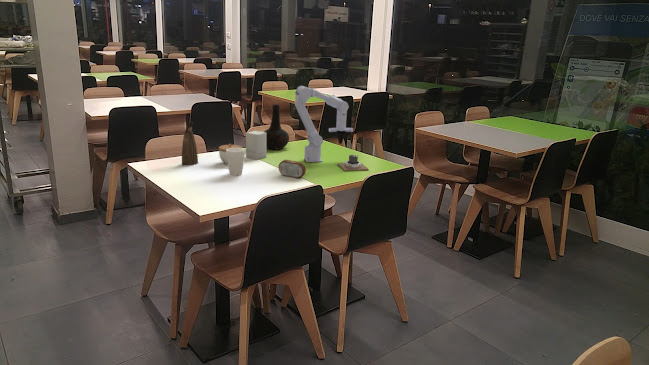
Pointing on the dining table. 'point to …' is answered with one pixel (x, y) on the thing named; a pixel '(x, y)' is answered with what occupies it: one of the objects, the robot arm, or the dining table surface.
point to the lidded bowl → (223, 152)
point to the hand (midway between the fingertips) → (340, 143)
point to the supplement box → (256, 144)
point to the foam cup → (235, 160)
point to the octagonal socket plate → (352, 166)
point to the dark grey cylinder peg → (353, 159)
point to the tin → (292, 169)
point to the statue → (189, 147)
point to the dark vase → (276, 131)
